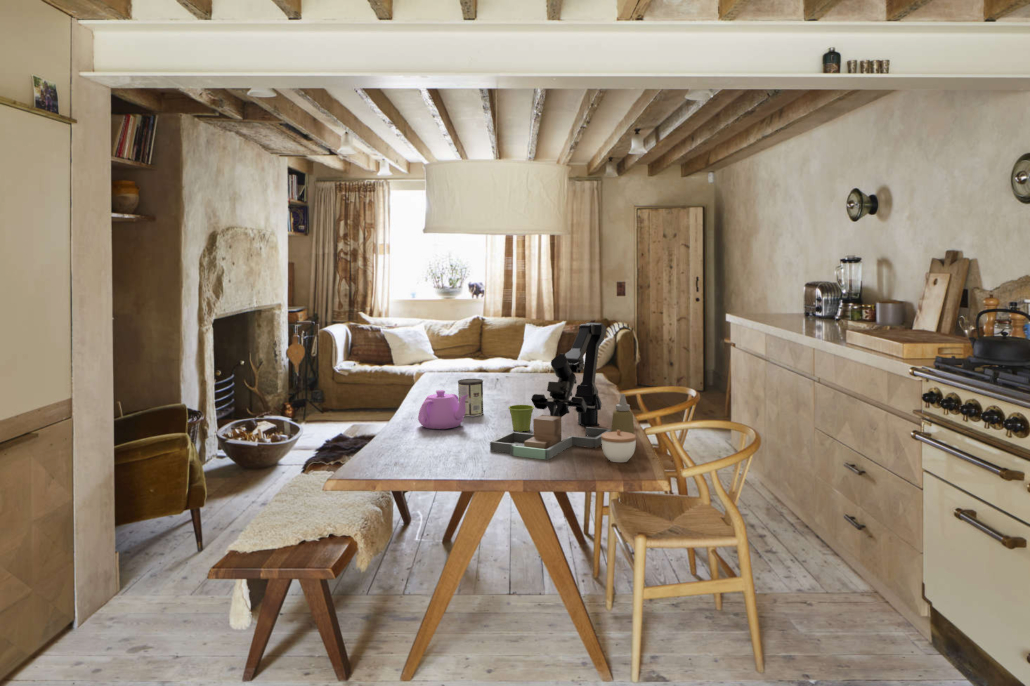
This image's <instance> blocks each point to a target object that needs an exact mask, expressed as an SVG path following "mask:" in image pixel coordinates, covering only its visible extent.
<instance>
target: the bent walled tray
mask: <svg viewBox="0 0 1030 686" xmlns="http://www.w3.org/2000/svg"><path fill="white" fill-rule="evenodd" d="M606 432H611V428H604V427H603V428H602V427H594V426H585V436H577V435H576V436H575V435H570V436H568V437H566V438H564V439H561V441H560V442H559V443H557V444H555V445H553V446H551V447H550V448H548V449H540V448H531V447H524V441H526V440H528V439H530V438H532V437H534V436H533V433H525V432H517V431H511V432H509V433H507V434H505V435H502V436H501V437H498V438H496V439H494V440H491V441H490V442H489V449H490V450H489V451H490V452H495V451H498V452H497V453H503V452H505V454H510V456H514V457H520V458H521V457H522V458H531V459H539V460H547V461H549V460H550V459H552V458H553V456H554V457H555V456H557V455H559V454H560V453H562V452H564V451H565V450H567V449H569V448H571V447H572V446H573V445H578V446H577V447H582V446H586V447H585V448H590V447H595V448H594V449H597V448H599V447H600V446H602V445H601V444H602V442H601V441H602V439H601V435H602V434H603V433H606ZM586 435H588V436H586ZM571 445H572V446H571ZM599 445H600V446H599ZM570 446H571V447H570ZM598 446H599V447H598ZM568 447H569V448H568ZM596 447H597V448H596ZM566 448H567V449H566ZM563 450H564V451H563ZM558 453H559V454H558ZM548 459H549V460H548Z"/></svg>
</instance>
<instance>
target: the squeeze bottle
mask: <svg viewBox="0 0 1030 686" xmlns="http://www.w3.org/2000/svg"><path fill="white" fill-rule="evenodd" d="M626 398H627V397H626V393H621V394H620V397H619V400H618V401H619V403H616V404H615V410H614V411H613V412H612V418H611V428H610V429H611V432H617V430H620V432H628V433H632V434H635V426H634V425H635V423H634V414H633V412H632V410H631V409H630V408H631V405H630V404H628V403H627V399H626Z"/></svg>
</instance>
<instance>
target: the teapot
mask: <svg viewBox="0 0 1030 686" xmlns="http://www.w3.org/2000/svg"><path fill="white" fill-rule="evenodd" d="M467 396H468V395H465V396H462V397H461V398H460V402H459V395H457V394H454V393H450V394H449V393H446V390H445V389H439V390H436V391H435V393H434V394H429V395H427V396H426V397H425V399H424V401H423V402H422V404H421V406H420V408H419V411H418V418H417V420H418V422H419V423H420V425H421V426H422V427H423V428H426V429H432V430H440V429H444V430H447V429H453V428H456V427H457V428H458V427H459V426H460V425H461V424H462V423H463V421H464V419H465V416H464V415H465V412H466V408H465V399H466V397H467Z"/></svg>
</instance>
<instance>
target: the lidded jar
mask: <svg viewBox="0 0 1030 686" xmlns="http://www.w3.org/2000/svg"><path fill="white" fill-rule="evenodd" d="M601 439H602V441H601V442H602V445H601V448H602V452H603V454H604V456H605V457H606V459H608V461H609V460H610V461H609V462H612V463H626V462H628V461H629V460H630V459H631V458H632V457H633V455H634V453H635V451H636V444H637V443H636V441H637V435H636V434H635V433H634V434H632V433H628V432H620V430H617V432H606V433H603V434H602V435H601Z"/></svg>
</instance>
